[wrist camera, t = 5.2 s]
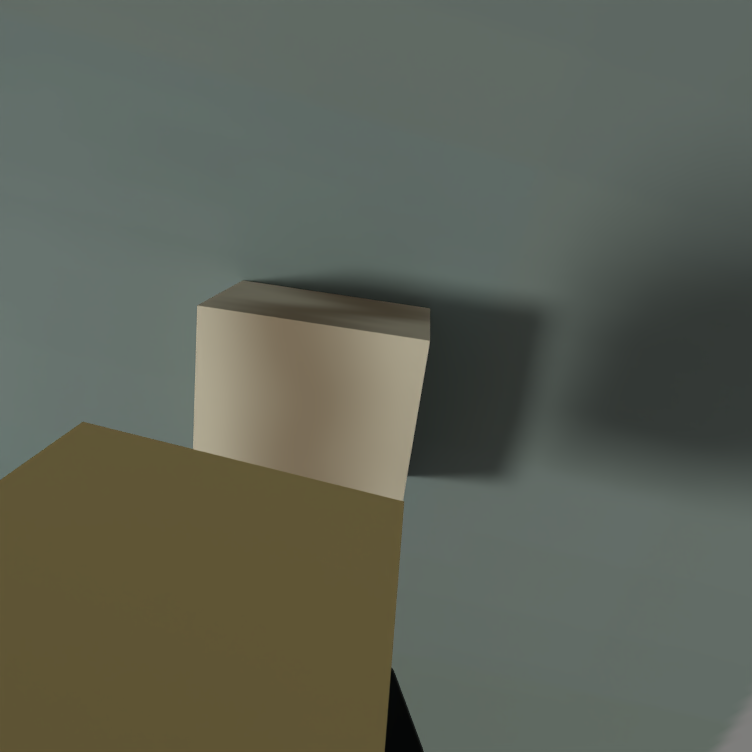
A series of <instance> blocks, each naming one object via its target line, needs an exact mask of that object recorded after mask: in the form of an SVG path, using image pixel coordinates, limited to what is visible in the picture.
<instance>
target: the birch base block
mask: <svg viewBox="0 0 752 752" xmlns="http://www.w3.org/2000/svg"><path fill="white" fill-rule="evenodd" d="M429 344H430V308H424V307H418V306H411V305H404V304H398V303H391V302H384V301H378V300H371V299H364V298H357V297H351V296H344V295H337V294H331V293H324V292H317V291H310V290H304V289H297V288H290V287H284V286H277V285H270V284H264V283H257V282H250V281H241V282H239V283H237V284H235V285H234V286H232V287H230V288H228V289H226V290H225V291H223V292H221V293H219V294H217V295H215V296H214V297H212V298H210V299H208V300H206V301H205V302H203V303H201V304H199V305H197V335H196V369H195V404H194V439H193V449H194V450H198V451H202V452H206V453H210V454H214V455H219V456H223V457H227V458H231V459H235V460H239V461H243V462H247V463H251V464H255V465H259V466H263V467H267V468H271V469H275V470H279V471H283V472H287V473H291V474H295V475H299V476H303V477H307V478H311V479H315V480H319V481H323V482H327V483H331V484H335V485H339V486H344V487H348V488H352V489H356V490H360V491H364V492H368V493H372V494H376V495H380V496H384V497H388V498H392V499H396V500H400V501H403V497H404V491H405V485H406V479H407V474H408V468H409V462H410V456H411V450H412V444H413V438H414V432H415V426H416V421H417V415H418V409H419V403H420V397H421V391H422V385H423V379H424V374H425V368H426V362H427V356H428V350H429Z"/></svg>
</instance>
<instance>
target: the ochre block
mask: <svg viewBox="0 0 752 752" xmlns="http://www.w3.org/2000/svg"><path fill="white" fill-rule="evenodd" d="M403 509H404V501H400V500H396V499H392V498H388V497H384V496H380V495H376V494H372V493H368V492H364V491H360V490H356V489H352V488H348V487H344V486H339V485H335V484H331V483H327V482H323V481H319V480H315V479H311V478H307V477H303V476H299V475H295V474H291V473H287V472H283V471H279V470H275V469H271V468H267V467H263V466H259V465H255V464H251V463H247V462H243V461H239V460H235V459H231V458H227V457H223V456H219V455H214V454H210V453H206V452H202V451H198V450H194V449H190V448H186V447H182V446H178V445H174V444H170V443H166V442H162V441H158V440H154V439H150V438H146V437H142V436H138V435H134V434H130V433H126V432H122V431H118V430H114V429H110V428H106V427H102V426H98V425H94V424H89V423H85V422H82V423H80V424H79V425H78V426H76V427H75V428H73V429H72V430H71V431H69V432H68V433H66V434H65V435H63V436H62V437H61V438H59V439H58V440H56V441H55V442H54V443H52V444H51V445H49V446H48V447H46V448H45V449H44V450H42V451H41V452H39V453H38V454H36V455H35V456H34V457H32V458H31V459H29V460H28V461H27V462H25V463H24V464H22V465H21V466H19V467H18V468H17V469H15V470H14V471H12V472H11V473H10V474H8V475H7V476H5V477H4V478H2V479H1V480H0V752H385V740H386V727H387V714H388V702H389V689H390V676H391V663H392V650H393V637H394V625H395V612H396V599H397V586H398V573H399V560H400V548H401V535H402V522H403Z"/></svg>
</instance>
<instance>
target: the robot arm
mask: <svg viewBox="0 0 752 752" xmlns="http://www.w3.org/2000/svg"><path fill="white" fill-rule="evenodd" d="M385 752H424V751H423V748H422V745H421V743H420V740H419V737H418V734H417V732H416V729H415V726H414V724H413V721H412V718H411V716H410V713H409V710H408V707H407V705H406V702H405V699H404V697H403V694H402V691H401V689H400V686H399V683H398V680H397V678H396V675H395V673H394V670H393V669H392V668H391V676H390V689H389V702H388V714H387V727H386V740H385Z"/></svg>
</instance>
